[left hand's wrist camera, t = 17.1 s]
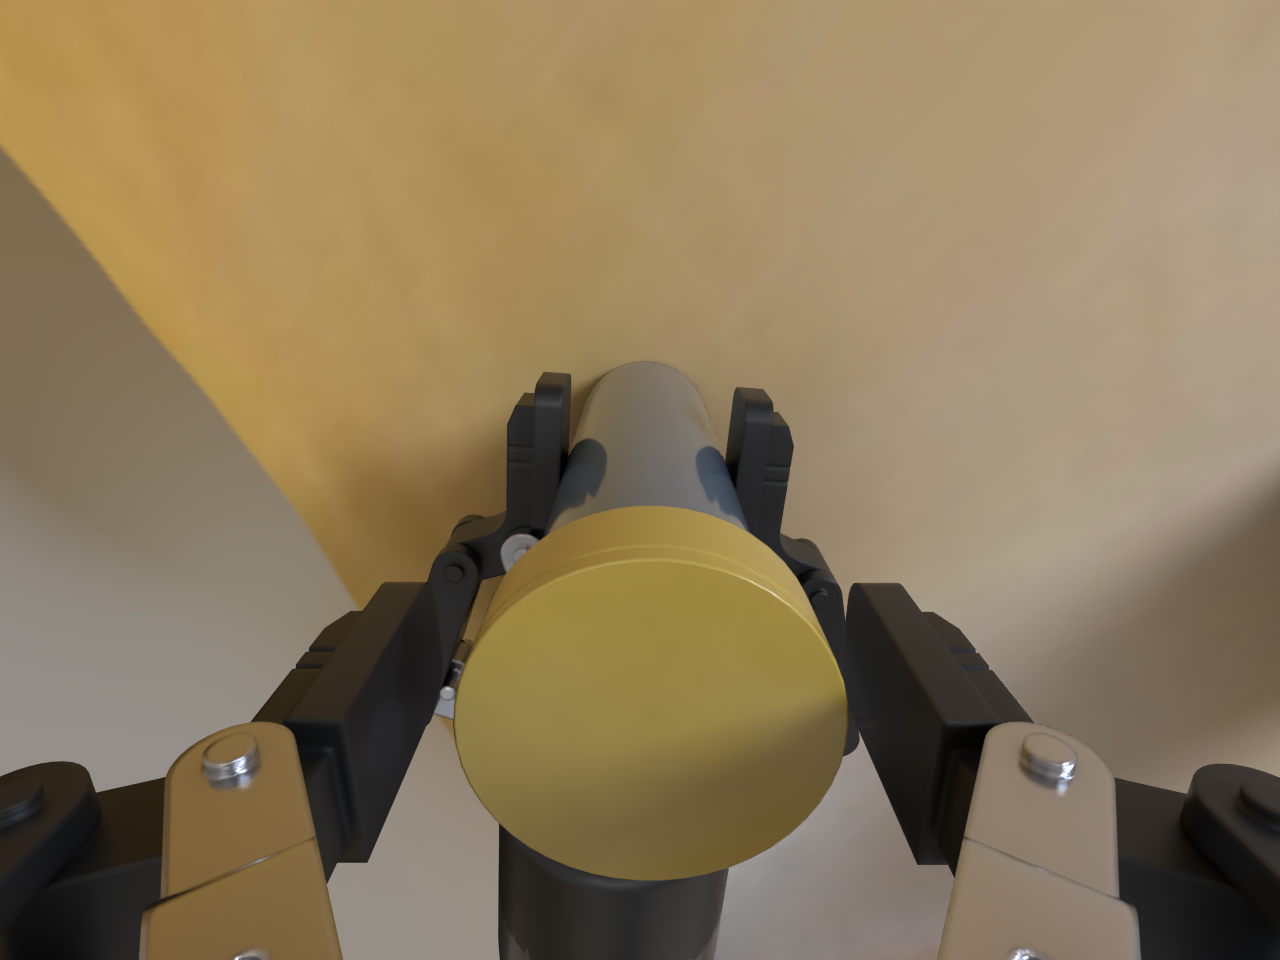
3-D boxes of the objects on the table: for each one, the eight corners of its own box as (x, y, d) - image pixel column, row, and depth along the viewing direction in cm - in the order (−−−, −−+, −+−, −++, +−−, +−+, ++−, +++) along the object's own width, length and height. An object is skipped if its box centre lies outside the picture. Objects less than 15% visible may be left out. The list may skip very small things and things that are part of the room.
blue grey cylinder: (561, 448, 25) (449, 760, 10) (617, 338, 23) (578, 518, 9) (669, 500, 25) (708, 863, 11) (729, 397, 24) (864, 652, 10)
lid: (717, 829, 12) (729, 925, 11) (433, 721, 11) (397, 805, 10) (882, 590, 11) (929, 660, 9) (565, 443, 10) (548, 489, 8)
